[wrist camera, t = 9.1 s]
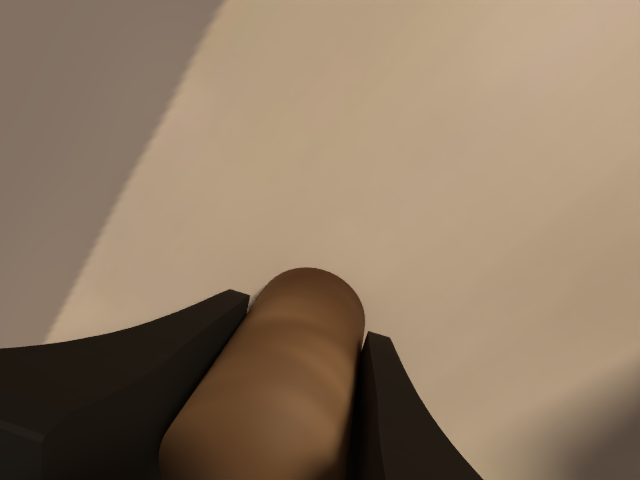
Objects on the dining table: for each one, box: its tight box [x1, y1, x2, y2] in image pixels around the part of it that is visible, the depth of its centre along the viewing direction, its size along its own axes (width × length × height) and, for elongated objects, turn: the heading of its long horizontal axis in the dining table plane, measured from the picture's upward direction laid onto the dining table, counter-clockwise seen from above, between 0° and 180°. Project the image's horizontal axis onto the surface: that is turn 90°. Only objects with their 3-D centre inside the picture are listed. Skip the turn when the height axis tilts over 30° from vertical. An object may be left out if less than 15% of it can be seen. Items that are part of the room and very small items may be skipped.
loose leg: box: [159, 268, 365, 480], centre depth 10 cm, size 3×3×6 cm
